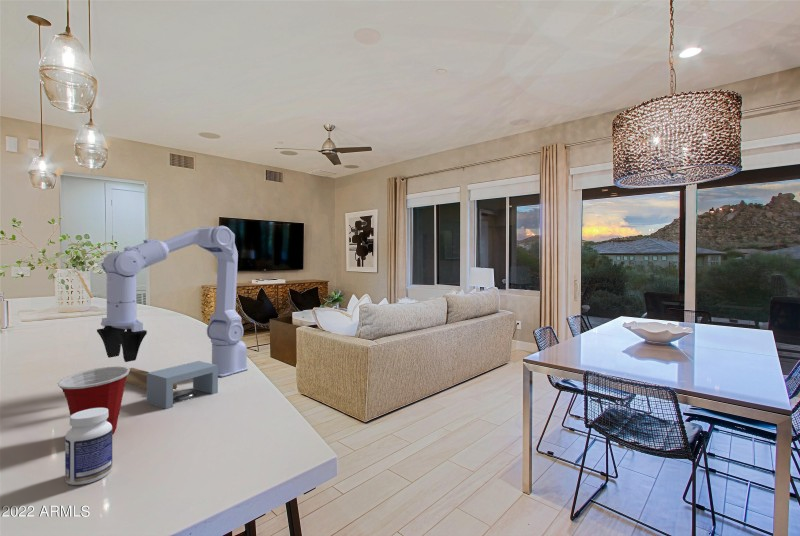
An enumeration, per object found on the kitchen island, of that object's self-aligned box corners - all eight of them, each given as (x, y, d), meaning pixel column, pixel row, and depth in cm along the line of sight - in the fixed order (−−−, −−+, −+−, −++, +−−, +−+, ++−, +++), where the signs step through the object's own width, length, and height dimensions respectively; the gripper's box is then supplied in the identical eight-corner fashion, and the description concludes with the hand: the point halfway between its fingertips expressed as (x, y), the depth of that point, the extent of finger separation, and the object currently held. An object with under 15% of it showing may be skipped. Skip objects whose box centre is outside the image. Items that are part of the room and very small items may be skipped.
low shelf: (198, 387, 102) (198, 360, 102) (217, 392, 98) (217, 365, 98) (146, 402, 90) (146, 372, 90) (166, 408, 87) (166, 378, 86)
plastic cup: (45, 441, 71) (45, 376, 70) (112, 420, 80) (112, 363, 80) (74, 455, 66) (74, 386, 65) (141, 431, 75) (141, 370, 75)
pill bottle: (121, 466, 62) (121, 406, 62) (91, 487, 57) (91, 420, 56) (87, 465, 62) (87, 405, 62) (54, 486, 57) (54, 419, 57)
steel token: (187, 393, 98) (187, 389, 98) (199, 397, 95) (199, 392, 95) (167, 399, 93) (167, 394, 93) (179, 403, 91) (179, 398, 91)
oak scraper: (139, 378, 109) (139, 366, 109) (176, 389, 100) (176, 375, 100) (117, 383, 104) (117, 371, 104) (154, 395, 95) (154, 381, 95)
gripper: (87, 301, 91) (86, 358, 91) (118, 305, 84) (118, 367, 84) (120, 299, 97) (120, 352, 97) (152, 302, 90) (152, 360, 90)
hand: (121, 358), depth 91 cm, fingers open, 7 cm apart
